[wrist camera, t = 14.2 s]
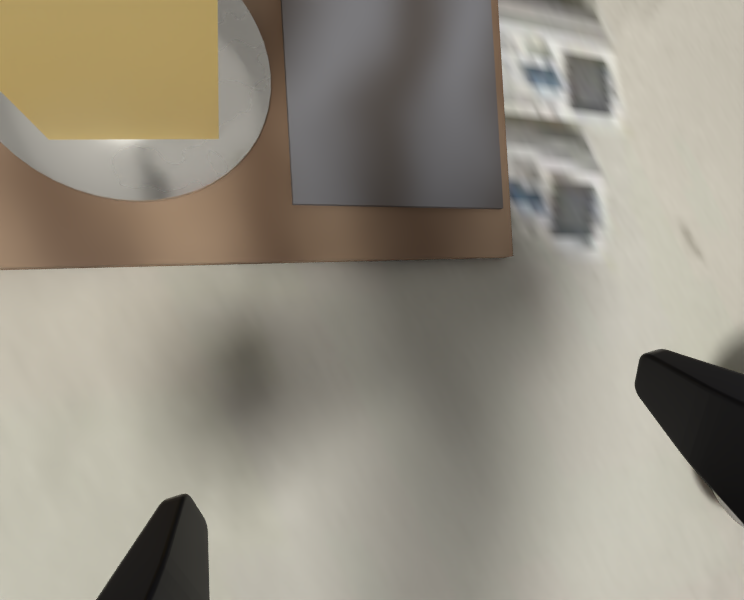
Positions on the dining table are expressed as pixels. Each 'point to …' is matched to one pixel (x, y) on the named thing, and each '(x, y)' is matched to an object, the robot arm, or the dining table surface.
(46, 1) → the tan wooden brick
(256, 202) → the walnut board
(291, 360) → the dining table surface
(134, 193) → the silver metal disc
